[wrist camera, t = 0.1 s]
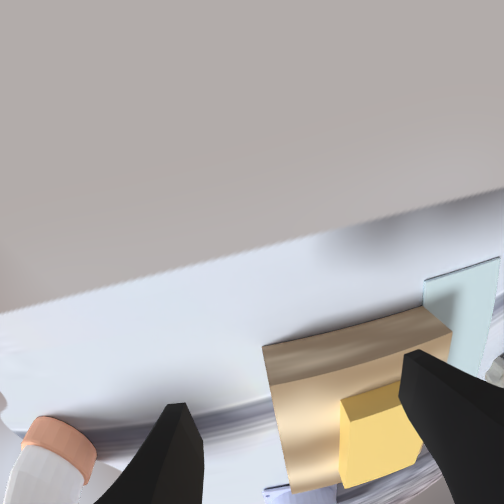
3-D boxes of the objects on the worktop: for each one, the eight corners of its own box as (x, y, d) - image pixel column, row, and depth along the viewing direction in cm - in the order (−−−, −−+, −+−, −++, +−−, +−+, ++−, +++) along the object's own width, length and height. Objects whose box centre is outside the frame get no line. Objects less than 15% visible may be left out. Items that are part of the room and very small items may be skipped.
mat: (463, 408, 25) (465, 409, 25) (400, 437, 25) (401, 439, 25) (498, 257, 20) (500, 258, 19) (423, 281, 20) (426, 282, 19)
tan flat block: (403, 426, 24) (419, 453, 20) (284, 461, 24) (291, 494, 20) (422, 305, 20) (452, 331, 16) (261, 346, 20) (269, 386, 16)
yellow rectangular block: (405, 447, 20) (414, 463, 18) (338, 470, 19) (344, 489, 18) (424, 371, 17) (438, 389, 15) (340, 399, 17) (350, 422, 15)
